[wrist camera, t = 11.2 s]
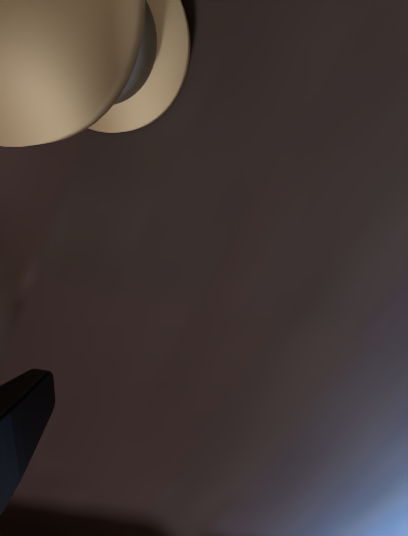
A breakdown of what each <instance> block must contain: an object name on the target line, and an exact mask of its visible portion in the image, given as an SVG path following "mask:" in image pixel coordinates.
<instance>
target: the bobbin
mask: <svg viewBox="0 0 408 536" xmlns="http://www.w3.org/2000/svg"><path fill="white" fill-rule="evenodd" d="M190 52H191V45H190V31H189V25H188V20H187V16H186V13H185V10H184V7H183V4H182V2H181V0H0V146H9V147H22V146H29V145H37V144H43V143H50V142H56V141H60V140H63V139H66V138H70V137H72V136H74V135H76V134H78V133H80V132H82V131H84V130H86V129H87V128H88V129H92V130H95V131H100V132H107V133H117V132H124V131H131V130H135V129H139V128H142V127H144V126H146V125H149V124H151V123H152V122H154V121H155V120H157V119H158V118H159V117H161V116H162V115H163V114H164V113H165V112H166V111H167V110H168V109H169V108H170V106H171V105H172V104H173V103H174V101H175V100H176V98H177V97H178V95H179V93H180V91H181V89H182V87H183V84H184V82H185V79H186V76H187V72H188V67H189V62H190Z"/></svg>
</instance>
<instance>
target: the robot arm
mask: <svg viewBox="0 0 408 536" xmlns="http://www.w3.org/2000/svg"><path fill="white" fill-rule="evenodd" d="M54 405H55V391H54V379H53V374H52V373H51V372H50V371H46V370H40V369H31V370H29V371H27V372H25V373H23V374H21V375H20V376H18V377H16V378H14V379H12V380H10V381H8V382H6V383H5V384H3V385H1V386H0V515H1V514H2V512H3V510H4V508H5V507H6V505H7V503H8V502H9V500H10V498H11V496H12V495H13V493H14V491H15V489H16V488H17V486H18V484H19V482H20V480H21V478H22V476H23V474H24V472H25V470H26V468H27V466H28V464H29V462H30V460H31V457H32V455H33V453H34V451H35V449H36V447H37V444H38V442H39V440H40V438H41V436H42V433H43V431H44V429H45V427H46V425H47V423H48V420H49V418H50V416H51V414H52V412H53V409H54Z"/></svg>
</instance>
